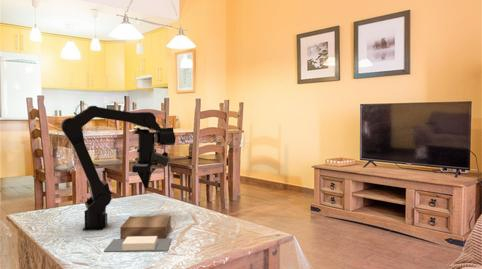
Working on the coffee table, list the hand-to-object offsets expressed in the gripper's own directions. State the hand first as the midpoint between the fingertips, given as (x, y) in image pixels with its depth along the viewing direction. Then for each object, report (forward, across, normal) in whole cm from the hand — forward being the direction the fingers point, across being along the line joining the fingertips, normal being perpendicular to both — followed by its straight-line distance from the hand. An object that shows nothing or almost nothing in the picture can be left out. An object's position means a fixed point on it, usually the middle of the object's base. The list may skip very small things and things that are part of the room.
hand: (146, 188), depth 133 cm
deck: (+12, -15, -3) cm, 19 cm away
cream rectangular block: (+10, -28, -4) cm, 30 cm away
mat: (+12, -26, -3) cm, 29 cm away
